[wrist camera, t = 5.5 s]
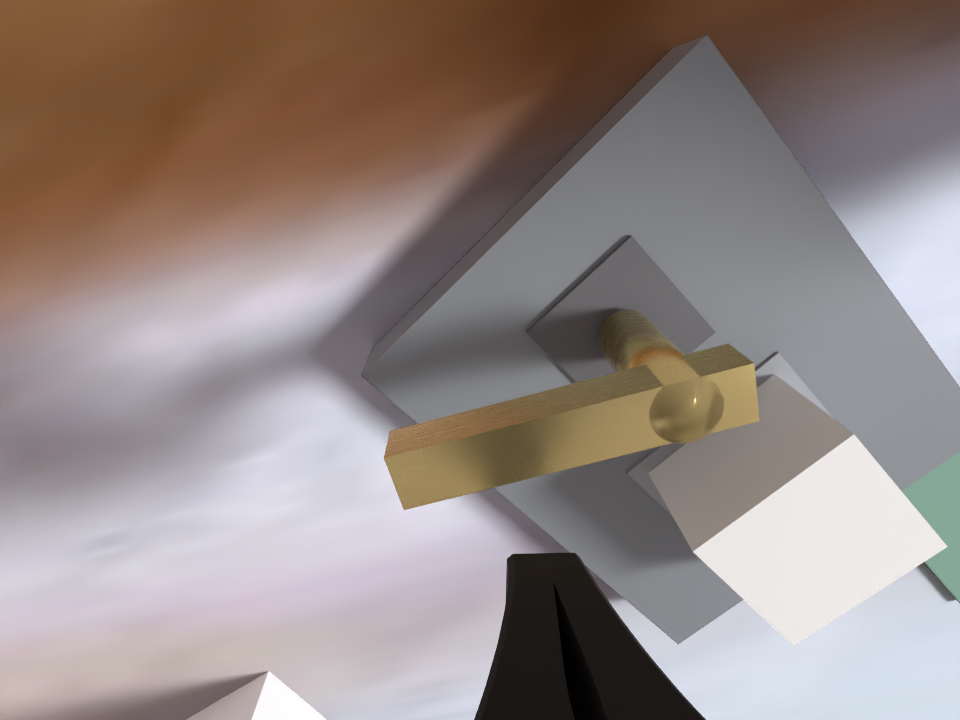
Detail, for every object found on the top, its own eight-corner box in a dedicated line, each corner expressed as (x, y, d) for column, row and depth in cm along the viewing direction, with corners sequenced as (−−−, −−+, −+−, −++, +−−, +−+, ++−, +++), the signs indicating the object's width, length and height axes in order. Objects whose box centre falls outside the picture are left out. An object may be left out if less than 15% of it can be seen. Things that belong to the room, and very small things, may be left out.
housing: (671, 48, 16) (710, 33, 14) (931, 397, 21) (995, 432, 19) (372, 347, 20) (360, 378, 17) (657, 595, 24) (680, 648, 22)
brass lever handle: (679, 347, 17) (759, 425, 12) (418, 415, 17) (405, 513, 13) (671, 296, 16) (753, 359, 12) (402, 368, 17) (382, 454, 12)
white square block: (774, 373, 18) (854, 434, 14) (856, 470, 19) (947, 546, 16) (648, 473, 19) (692, 551, 15) (734, 557, 20) (793, 646, 17)
